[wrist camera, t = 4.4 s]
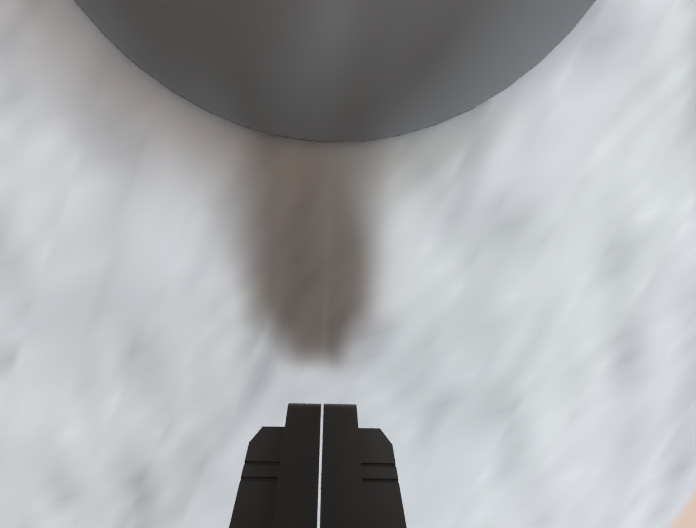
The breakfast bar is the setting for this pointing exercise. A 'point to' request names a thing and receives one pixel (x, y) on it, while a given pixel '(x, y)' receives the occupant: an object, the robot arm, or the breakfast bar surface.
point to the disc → (336, 57)
